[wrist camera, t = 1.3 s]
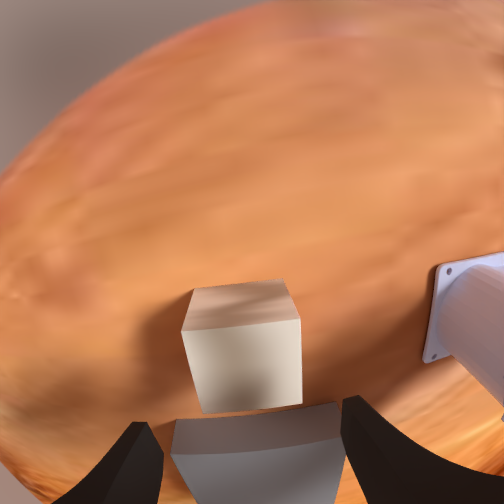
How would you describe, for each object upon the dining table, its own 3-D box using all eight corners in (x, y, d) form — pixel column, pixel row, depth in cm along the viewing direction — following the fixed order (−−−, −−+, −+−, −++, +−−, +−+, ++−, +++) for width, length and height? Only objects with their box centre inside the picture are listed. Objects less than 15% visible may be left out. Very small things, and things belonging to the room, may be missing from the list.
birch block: (282, 278, 17) (300, 318, 12) (287, 350, 18) (302, 403, 13) (194, 287, 17) (180, 331, 12) (208, 359, 18) (203, 413, 13)
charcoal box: (334, 398, 20) (349, 434, 16) (325, 474, 23) (333, 503, 19) (177, 415, 20) (170, 454, 16) (208, 487, 23) (206, 518, 19)
